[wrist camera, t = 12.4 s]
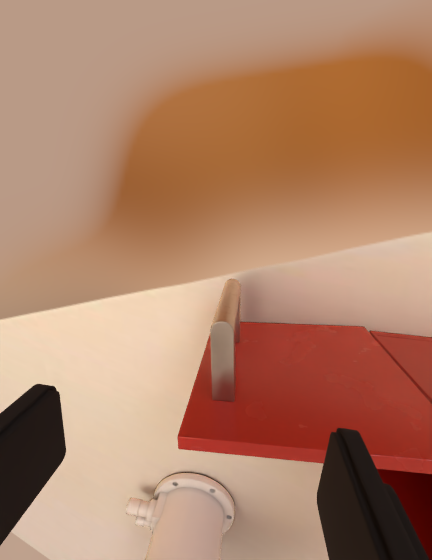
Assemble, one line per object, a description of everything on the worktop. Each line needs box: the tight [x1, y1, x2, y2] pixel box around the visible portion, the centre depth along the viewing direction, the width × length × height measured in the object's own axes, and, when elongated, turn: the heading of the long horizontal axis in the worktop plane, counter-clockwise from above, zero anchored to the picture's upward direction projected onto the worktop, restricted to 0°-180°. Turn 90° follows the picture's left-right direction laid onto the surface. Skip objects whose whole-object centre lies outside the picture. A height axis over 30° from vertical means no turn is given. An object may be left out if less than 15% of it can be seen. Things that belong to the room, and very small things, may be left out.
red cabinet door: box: [178, 279, 432, 474], centre depth 23 cm, size 7×17×17 cm, turn 91°
